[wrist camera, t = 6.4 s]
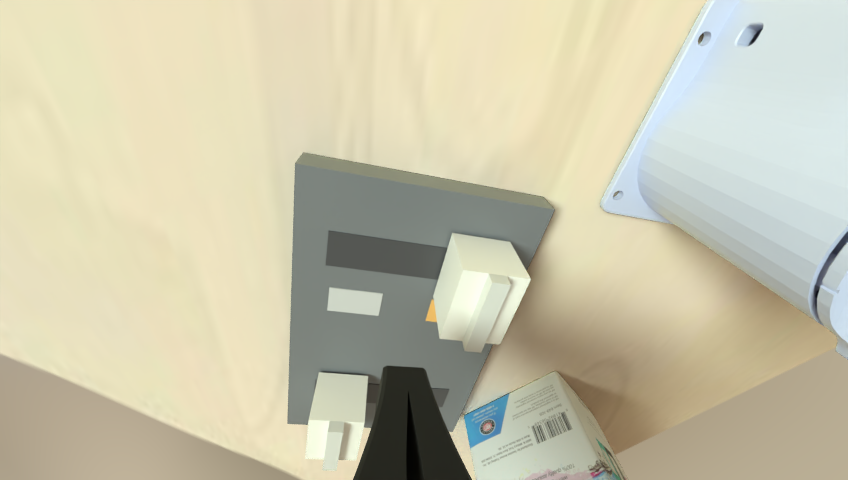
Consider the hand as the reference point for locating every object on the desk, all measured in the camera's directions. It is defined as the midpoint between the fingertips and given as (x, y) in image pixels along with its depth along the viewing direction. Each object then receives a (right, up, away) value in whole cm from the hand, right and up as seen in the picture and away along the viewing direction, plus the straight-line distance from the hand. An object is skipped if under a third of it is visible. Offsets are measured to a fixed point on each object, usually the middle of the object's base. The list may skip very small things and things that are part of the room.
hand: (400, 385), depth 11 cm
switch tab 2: (+3, +3, +6) cm, 8 cm away
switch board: (-1, 0, +10) cm, 10 cm away
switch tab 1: (-5, -5, +11) cm, 13 cm away
